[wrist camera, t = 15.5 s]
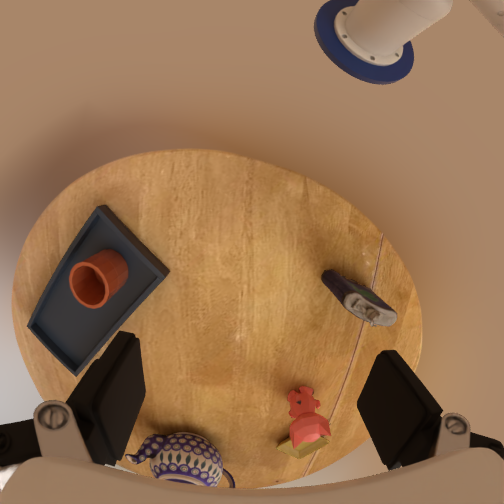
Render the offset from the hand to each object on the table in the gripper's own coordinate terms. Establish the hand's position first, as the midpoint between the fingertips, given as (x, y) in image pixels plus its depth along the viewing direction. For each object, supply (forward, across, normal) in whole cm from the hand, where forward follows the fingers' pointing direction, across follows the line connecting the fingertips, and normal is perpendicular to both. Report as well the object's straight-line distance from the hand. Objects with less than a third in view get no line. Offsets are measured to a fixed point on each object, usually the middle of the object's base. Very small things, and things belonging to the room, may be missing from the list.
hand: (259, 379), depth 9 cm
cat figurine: (+28, -12, +27) cm, 41 cm away
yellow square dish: (+28, -16, +42) cm, 53 cm away
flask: (+28, -16, +6) cm, 33 cm away
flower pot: (+27, +19, +7) cm, 34 cm away
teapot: (+28, +8, +46) cm, 54 cm away
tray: (+28, +25, +13) cm, 40 cm away
